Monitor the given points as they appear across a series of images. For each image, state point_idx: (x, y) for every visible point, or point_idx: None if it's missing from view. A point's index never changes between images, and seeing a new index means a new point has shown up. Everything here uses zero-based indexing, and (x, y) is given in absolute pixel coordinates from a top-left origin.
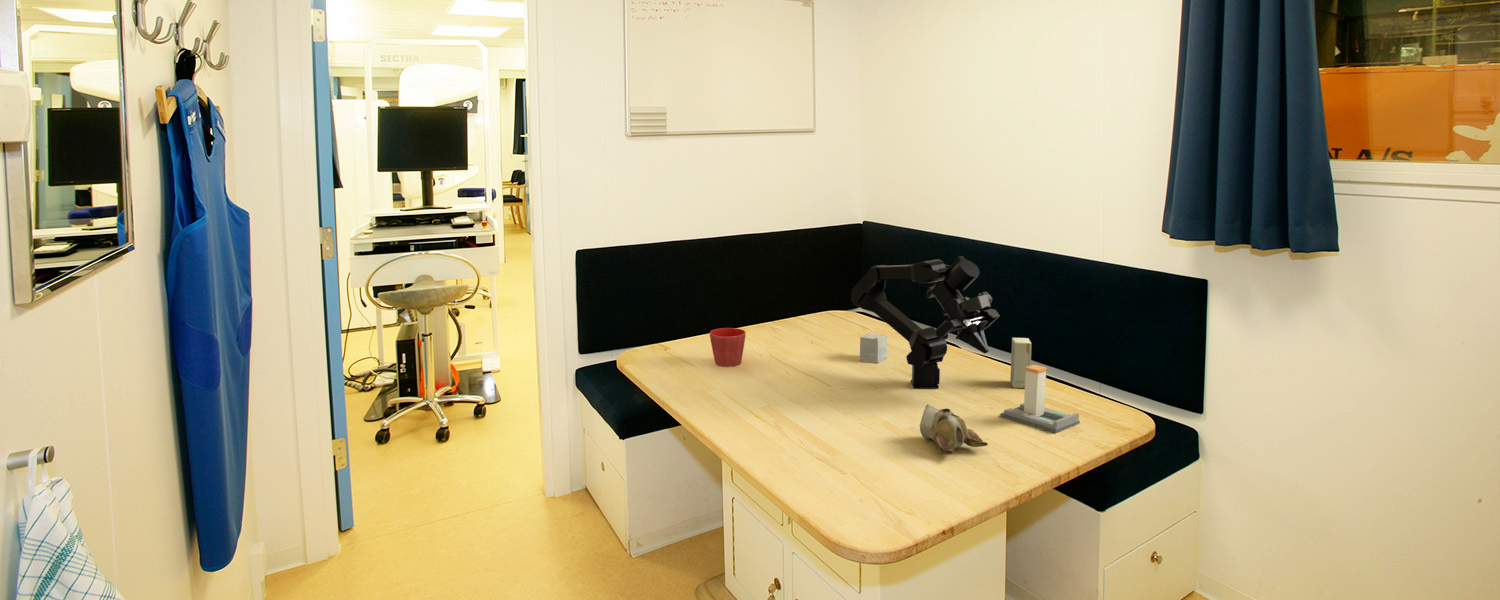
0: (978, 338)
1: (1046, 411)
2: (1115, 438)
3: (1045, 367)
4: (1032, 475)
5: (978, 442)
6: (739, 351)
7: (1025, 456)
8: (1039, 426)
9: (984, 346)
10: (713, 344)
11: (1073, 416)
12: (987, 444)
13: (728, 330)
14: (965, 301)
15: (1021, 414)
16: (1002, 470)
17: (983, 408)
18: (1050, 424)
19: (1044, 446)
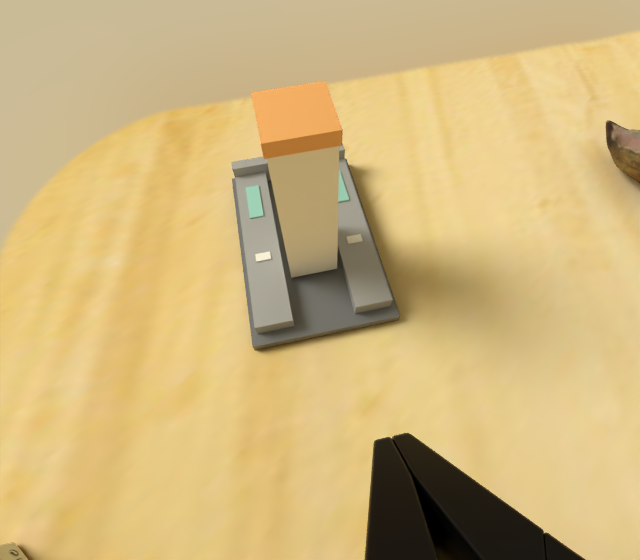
0: (555, 549)
1: (274, 232)
2: (250, 105)
3: (256, 95)
4: (544, 58)
5: (631, 130)
6: None
7: (507, 109)
8: (358, 196)
9: (433, 461)
10: None
11: (259, 159)
12: (608, 121)
13: None
14: None
15: (366, 245)
16: (594, 85)
17: (403, 416)
18: (346, 165)
19: (430, 127)
